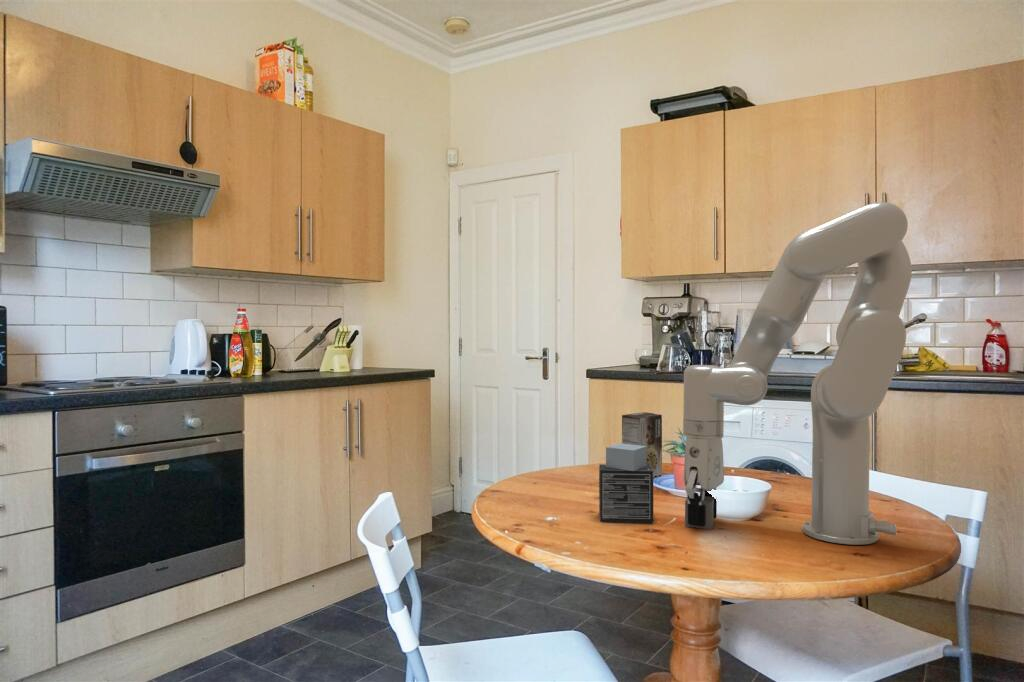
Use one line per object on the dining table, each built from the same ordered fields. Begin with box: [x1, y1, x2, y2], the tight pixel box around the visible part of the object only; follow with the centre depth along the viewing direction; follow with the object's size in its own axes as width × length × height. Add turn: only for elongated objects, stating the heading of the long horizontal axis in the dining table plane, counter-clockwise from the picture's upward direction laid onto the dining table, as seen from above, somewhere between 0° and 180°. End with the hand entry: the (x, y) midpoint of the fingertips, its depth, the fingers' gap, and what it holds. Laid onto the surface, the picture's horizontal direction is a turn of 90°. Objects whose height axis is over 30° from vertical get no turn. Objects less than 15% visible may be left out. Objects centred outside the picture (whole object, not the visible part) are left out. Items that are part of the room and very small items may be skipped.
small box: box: [598, 464, 655, 524], centre depth 135 cm, size 11×6×10 cm, turn 84°
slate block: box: [605, 442, 647, 471], centre depth 135 cm, size 6×6×4 cm
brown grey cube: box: [684, 495, 715, 530], centre depth 132 cm, size 5×5×5 cm
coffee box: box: [621, 411, 663, 478], centre depth 175 cm, size 9×6×16 cm
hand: (702, 520), depth 132 cm, fingers closed on brown grey cube, 5 cm apart
